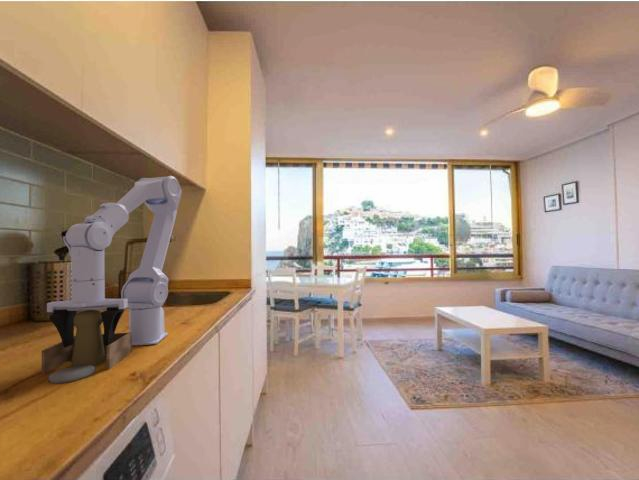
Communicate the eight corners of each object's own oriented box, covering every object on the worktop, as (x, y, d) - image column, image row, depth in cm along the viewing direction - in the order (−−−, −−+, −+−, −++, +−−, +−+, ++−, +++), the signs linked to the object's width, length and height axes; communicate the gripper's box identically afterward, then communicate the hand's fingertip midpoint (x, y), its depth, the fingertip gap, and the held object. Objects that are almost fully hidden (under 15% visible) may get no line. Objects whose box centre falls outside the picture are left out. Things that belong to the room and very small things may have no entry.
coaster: (63, 369, 64) (63, 366, 64) (102, 367, 65) (102, 364, 65) (39, 384, 57) (39, 381, 57) (82, 381, 58) (82, 378, 58)
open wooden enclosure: (74, 355, 72) (74, 335, 72) (131, 351, 74) (131, 332, 74) (41, 374, 62) (41, 350, 62) (109, 369, 64) (109, 346, 64)
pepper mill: (100, 356, 71) (100, 307, 72) (110, 362, 68) (110, 310, 68) (67, 364, 67) (67, 311, 67) (75, 371, 63) (75, 315, 63)
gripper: (36, 283, 62) (36, 353, 62) (116, 280, 65) (117, 348, 64) (59, 279, 69) (59, 342, 69) (131, 277, 72) (131, 338, 71)
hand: (88, 344), depth 67 cm, fingers open, 7 cm apart
